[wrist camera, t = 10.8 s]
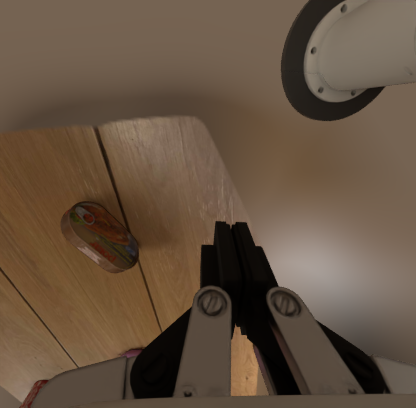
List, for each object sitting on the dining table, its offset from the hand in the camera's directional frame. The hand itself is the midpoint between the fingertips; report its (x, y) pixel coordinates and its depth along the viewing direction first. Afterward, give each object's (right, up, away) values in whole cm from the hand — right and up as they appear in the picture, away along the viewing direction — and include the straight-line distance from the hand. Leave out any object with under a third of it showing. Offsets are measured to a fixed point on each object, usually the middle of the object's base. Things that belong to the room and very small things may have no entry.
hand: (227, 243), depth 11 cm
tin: (-20, -2, +28) cm, 35 cm away
